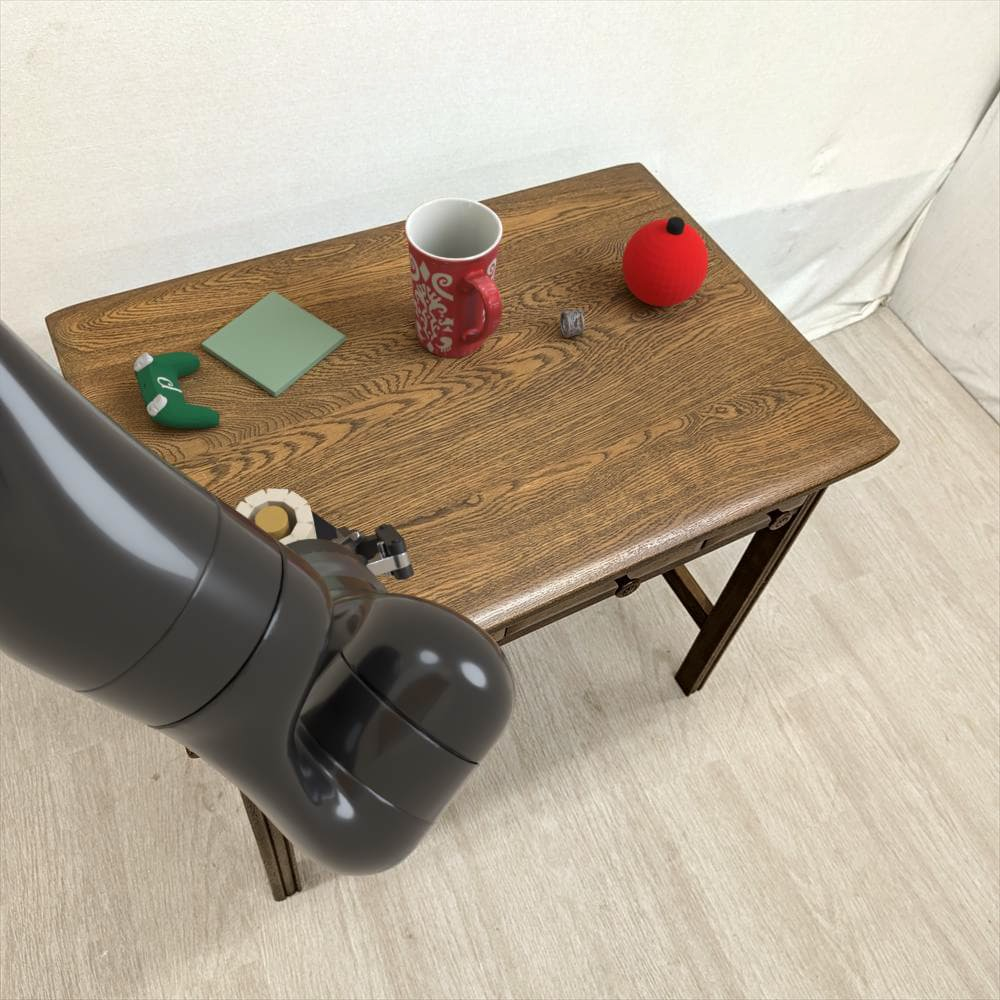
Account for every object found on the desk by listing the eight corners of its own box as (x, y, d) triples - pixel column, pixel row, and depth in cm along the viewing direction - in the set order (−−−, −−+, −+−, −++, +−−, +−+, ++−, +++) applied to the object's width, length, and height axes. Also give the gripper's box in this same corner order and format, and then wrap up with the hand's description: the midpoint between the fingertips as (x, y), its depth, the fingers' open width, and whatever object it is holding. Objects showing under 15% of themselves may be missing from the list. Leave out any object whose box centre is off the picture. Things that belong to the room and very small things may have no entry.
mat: (275, 398, 87) (274, 392, 86) (202, 348, 90) (200, 343, 89) (345, 340, 92) (345, 335, 91) (274, 296, 94) (273, 290, 94)
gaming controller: (179, 379, 89) (123, 361, 85) (200, 352, 88) (145, 333, 83) (203, 447, 85) (146, 432, 80) (226, 420, 83) (169, 404, 79)
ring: (281, 599, 69) (273, 570, 65) (223, 556, 71) (212, 525, 67) (334, 547, 72) (329, 516, 68) (278, 507, 74) (270, 474, 70)
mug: (392, 316, 94) (388, 209, 83) (469, 293, 97) (476, 186, 86) (444, 400, 88) (447, 297, 77) (525, 373, 91) (539, 269, 80)
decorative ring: (582, 341, 94) (587, 320, 92) (565, 343, 94) (569, 322, 91) (574, 322, 95) (579, 301, 93) (558, 324, 95) (561, 303, 93)
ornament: (710, 314, 98) (737, 240, 89) (637, 332, 95) (658, 258, 87) (672, 260, 102) (694, 185, 94) (601, 276, 100) (617, 201, 92)
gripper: (424, 515, 51) (365, 480, 66) (170, 600, 47) (169, 542, 62) (457, 635, 53) (393, 574, 68) (215, 726, 49) (204, 640, 64)
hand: (286, 559), depth 65 cm, fingers open, 8 cm apart
